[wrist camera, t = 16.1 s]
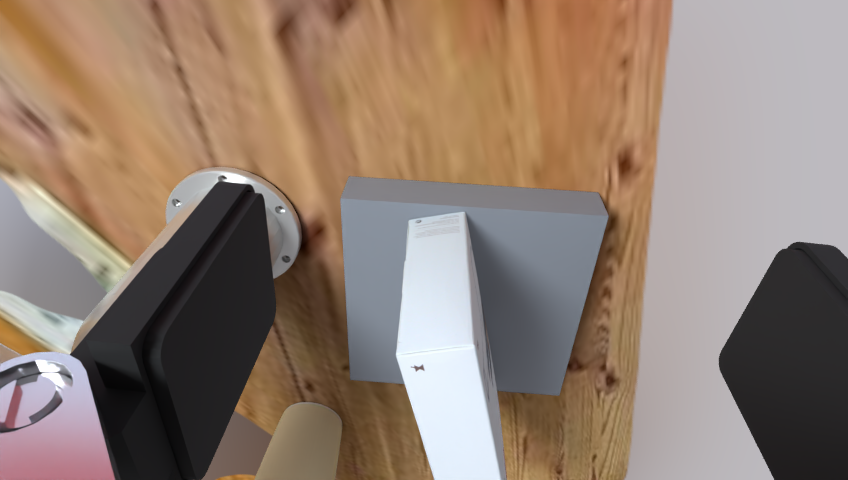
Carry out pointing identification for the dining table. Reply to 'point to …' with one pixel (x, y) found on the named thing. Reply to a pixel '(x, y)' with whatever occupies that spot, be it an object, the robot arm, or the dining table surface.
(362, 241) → the podium
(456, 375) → the skincare box
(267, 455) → the coffee cup
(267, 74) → the dining table surface
